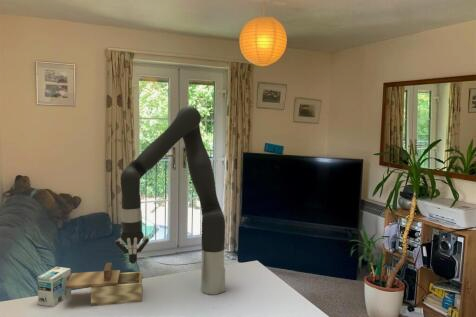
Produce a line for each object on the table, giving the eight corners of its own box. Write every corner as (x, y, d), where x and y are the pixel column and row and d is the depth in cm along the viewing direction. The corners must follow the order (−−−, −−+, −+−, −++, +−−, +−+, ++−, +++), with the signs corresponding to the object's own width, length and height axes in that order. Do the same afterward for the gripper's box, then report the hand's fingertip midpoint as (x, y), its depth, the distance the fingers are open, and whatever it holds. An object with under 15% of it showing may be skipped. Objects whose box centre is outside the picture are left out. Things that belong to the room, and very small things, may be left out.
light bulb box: (53, 307, 135) (52, 278, 134) (37, 305, 136) (36, 276, 135) (72, 294, 146) (71, 267, 145) (57, 292, 147) (56, 266, 146)
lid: (120, 272, 150) (119, 260, 149) (117, 284, 138) (117, 271, 137) (72, 275, 145) (71, 263, 145) (65, 288, 134) (64, 275, 133)
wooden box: (142, 288, 152) (142, 271, 152) (141, 301, 141) (141, 283, 140) (95, 291, 148) (95, 274, 147) (91, 306, 136) (90, 287, 136)
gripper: (149, 215, 148) (150, 258, 149) (114, 217, 145) (116, 260, 146) (149, 220, 141) (150, 264, 142) (112, 222, 138) (114, 268, 139)
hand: (133, 262), depth 144 cm, fingers closed
